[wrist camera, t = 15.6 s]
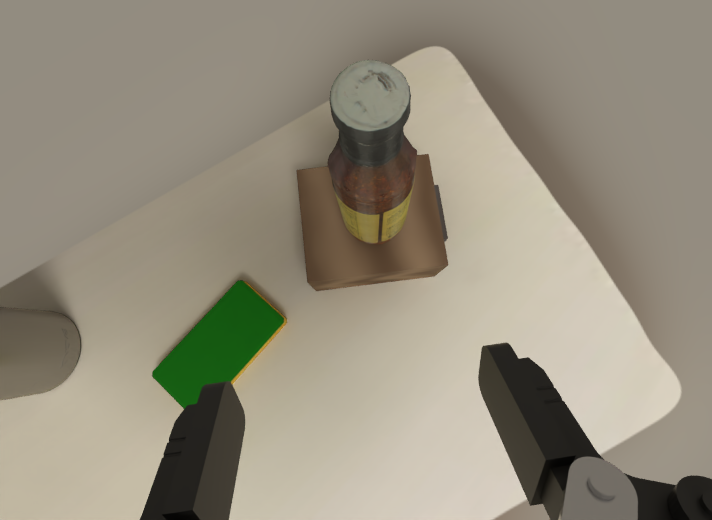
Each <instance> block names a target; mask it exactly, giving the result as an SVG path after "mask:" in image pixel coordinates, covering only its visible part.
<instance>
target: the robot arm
mask: <svg viewBox="0 0 712 520" xmlns="http://www.w3.org/2000/svg"><path fill="white" fill-rule="evenodd" d="M80 347H81V346H80V337H79V333H78V330H77V329H76V327H75V325H74V324H73V323H72V322H71V320H70V319H69V318H67V317H66V316H64V315H62V314H60V313H56V312H51V311H40V310H28V309H18V308H6V307H0V400H6V399H12V398H18V397H23V396H29V395H34V394H40V393H44V392H47V391H50V390H52V389H54V388H55V387H57V386H59V385H60V384H61V383H62V382H64V381H65V380H66V379H67V378H68V376H69V375H70V374H71V373H72V371H73V369H74V368H75V366H76V364H77V361H78V358H79V355H80ZM478 378H479V386H480V391H481V394H482V397H483V399H484V401H485V403H486V406H487V408H488V410H489V413H490V415H491V417H492V419H493V422H494V424H495V426H496V428H497V431H498V433H499V435H500V438H501V440H502V442H503V444H504V447H505V449H506V451H507V454H508V456H509V458H510V460H511V463H512V465H513V467H514V470H515V472H516V474H517V476H518V479H519V481H520V483H521V485H522V488H523V490H524V492H525V495H526V497H527V499H528V501H529V504H530V505H537V504H543V505H544V507H545V509H546V511H547V513H548V515H549V520H712V479H710V478H706V477H702V476H687V477H684V478H682V479H681V480H680V481H679V482H678V484H677V485H672V484H666V483H661V482H656V481H650V480H645V479H639V478H635V477H632V476H630V475H627V474H625V473H623V472H622V471H621V470H620V469H618V468H617V467H615V466H614V465H612V464H611V463H609V462H607V461H605V460H604V459H603V458H602V457H601V456H600V455H599V454H598V453H597V451H596V450H595V449H594V447H593V445H592V444H591V442H590V441H589V439H588V438H587V436H586V435H585V433H584V432H583V430H582V428H581V427H580V425H579V424H578V422H577V421H576V419H575V418H574V416H573V415H572V413H571V411H570V410H569V408H568V407H567V405H566V404H565V402H564V401H562V398H561V396H560V394H559V393H558V391H557V390H556V388H554V386H553V384H552V382H551V381H550V379H549V377H548V376H547V374H546V373H545V371H544V370H543V369H542V368H541V367H539V366H538V365H537V364H536V363H535V362H533V361H532V360H531V359H530V358H521V359H518V357H517V355H516V354H515V352H514V350H513V349H512V347H511V346H510V345H509V344H508V343H501V344H494V345H486V346H483V347H482V351H481V359H480V368H479V377H478ZM244 431H245V414H244V410H243V407H242V405H241V403H240V401H239V399H238V396H237V394H236V392H235V390H234V388H233V385H232V384H231V382H230V381H226V382H219V383H212V384H206V385H204V386H203V387H202V389H201V392H200V395H199V398H198V401H197V404H192V405H187V406H186V408H185V409H184V410H183V412H182V413H181V414H180V416H179V417H178V418H177V420H176V421H175V423H174V426H173V429H172V432H171V435H170V437H169V443H167V446H166V449H165V452H164V457H163V458H162V460H161V463H160V466H159V468H158V471H157V474H156V477H155V480H154V482H153V485H152V488H151V491H150V494H149V496H148V499H147V502H146V505H145V508H144V511H143V513H142V516H141V518H140V520H229V515H230V509H231V504H232V498H233V492H234V487H235V481H236V476H237V470H238V464H239V459H240V453H241V448H242V442H243V436H244Z"/></svg>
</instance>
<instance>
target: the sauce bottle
mask: <svg viewBox="0 0 712 520" xmlns="http://www.w3.org/2000/svg"><path fill="white" fill-rule="evenodd" d="M410 98H411V95H410V87H409V85H408V83H407V81H406V78H405V77H404V75H403V74H402V73H401V72H400V71H399V70H397V69H396V68H395V67H393V66H391V65H389V64H386V63H383V62H380V61H377V60H364V61H359V62H356V63H354V64H352V65H350V66H349V67H347V68H346V69H345V70H344V71H342V72H341V73H340V74H339V75H338V77H337V78H336V80H335V81H334V83H333V85H332V88H331V91H330V105H331V113H332V117H333V120H334V123H335V125H336V127H337V128H338V129H339V139H338V141H337V144H336V146H335V148H334V150H333V151H332V153H331V154H330V156H329V159H328V168H329V171H330V174H331V178H332V184H333V188H334V191H335V194H336V197H337V201H338V204H339V207H340V210H341V214H342V217H343V220H344V223H345V226H346V228H347V229H348V230H349V232H350V233H351V234H352V235H353V236H354V237H355V238H356V239H357V240H359V241H362V242H365V243H369V244H383V243H386V242H388V241H390V240H391V239H392V238H393V237H394V236H396V235H397V234H398V233H399V232H400V230H401V228H402V227H403V225H404V222H405V219H406V216H407V211H408V206H409V202H410V197H411V193H412V189H413V185H414V180H415V168H416V158H417V150H416V149H415V148H413V147H412V145H411V144H410V142H409V141H408V140H407V138H406V137H405V135H404V132H403V126H404V125H405V123H406V122H407V120H408V117H409V114H410Z"/></svg>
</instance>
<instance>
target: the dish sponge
mask: <svg viewBox="0 0 712 520" xmlns="http://www.w3.org/2000/svg"><path fill="white" fill-rule="evenodd" d="M286 323H287V319H286V318H285V317H284V316H283V315H282V314H281V313H280V312H279V311H278V310H277V309H276V308H274V307H273V306H272V305H271V304H270V303H269V302H268V301H267V300H266V299H265V298H263V297H262V296H261V295H260V294H259V293H258V292H257V291H256V290H255V289H254V288H252V287H251V286H250V285H249V284H248V283H247V282H245V281H242V280H240V281H237V282H236V283H235V284H234V285H233V286H232V288H231V289H230V290H229V291H228V292H227V293H226V294H225V295H224V296H223V297H222V298H221V299H220V300H219V301H218V302H217V304H216V305H215V306H214V307H213V308H212V309H211V310H210V311H209V312H208V313H207V314H206V315H205V316H204V317H203V318H202V320H201V321H200V322H199V323H198V324H197V325H196V326H195V327H194V328H193V329H192V330H191V331H190V332H189V333H188V334H187V336H186V337H185V338H184V339H183V340H182V341H181V342H180V343H179V344H178V345H177V346H176V347H175V348H174V349H173V350H172V352H171V353H170V354H169V355H168V356H167V357H166V358H165V359H164V360H163V361H162V362H161V363H160V364H159V365H158V367H157V368H156V369H155V370H154V371H153V374H152V377H153V378H154V379H155V380H156V381H157V382H158V383H159V384H160V385H161V386H162V387H163V388H164V389H165V390H166V391H167V392H168V393H169V394H170V395H171V396H172V397H173V398H174V399H175V400H176V401H177V402H178V403H179V404H180V405H181V406H182V407H183V408H184V409H185V408H186V406H187V405H192V404H197V401H198V398H199V395H200V392H201V389H202V387H203V386H204V385H206V384H212V383H219V382H226V381H230V382H231V384H233V383H234V382H235V381H236V379H237V378H238V377H239V376H240V375H241V374H242V373H243V372H244V371H245V369H246V368H247V367H248V366H249V365H250V364H251V363H252V362H253V360H254V359H255V358H256V357H257V356H258V355H259V354H260V353H261V351H262V350H263V349H264V348H265V347H266V346H267V345H268V344H269V342H270V341H271V340H272V339H273V338H274V337H275V336H276V335H277V334H278V332H279V331H280V330H281V329H282V328H283V327H284V326H285V325H286Z"/></svg>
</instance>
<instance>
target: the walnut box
mask: <svg viewBox="0 0 712 520" xmlns="http://www.w3.org/2000/svg"><path fill="white" fill-rule="evenodd" d="M297 179H298V190H299V200H300V210H301V220H302V231H303V241H304V251H305V261H306V272H307V282H308V283H309V284H310V285H311V286H312V287H313V288H314V289H315V290H316V291H320V290H328V289H336V288H344V287H352V286H360V285H368V284H376V283H384V282H392V281H400V280H408V279H416V278H424V277H432V276H435V275H437V274H438V273H439V272H440V271H441V270H443V269H444V268H445V267H446V266H447V265H448V260H447V255H446V249H445V244H444V241H446V240H447V239H448V237H447V231H446V226H445V220H444V215H443V209H442V204H441V198H440V193H439V187H438V185H434V182H433V177H432V171H431V165H430V160H429V154H425V155H417V158H416V168H415V180H414V185H413V189H412V193H411V197H410V202H409V206H408V211H407V216H406V219H405V222H404V225H403V227H402V228H401V230H400V232H399V233H398V234H397V235H396V236H394V237H393V238H392V239H391V240H390V241H388V242H386V243H383V244H369V243H365V242H362V241H359V240H357V239H356V238H355V237H354V236H353V235H352V234H351V233H350V232H349V230H348V229H347V228H346V226H345V223H344V220H343V217H342V214H341V210H340V207H339V204H338V201H337V197H336V194H335V191H334V188H333V184H332V178H331V174H330V171H329V168H328V166H327V167H319V168H310V169H302V170H297Z"/></svg>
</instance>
